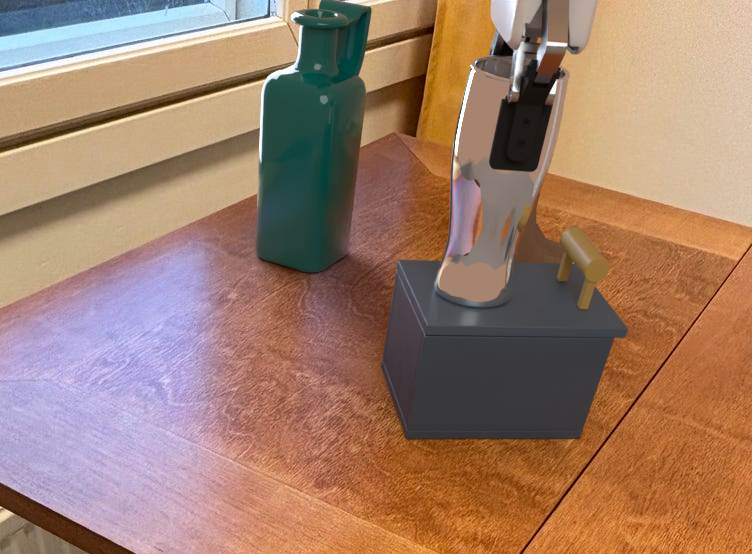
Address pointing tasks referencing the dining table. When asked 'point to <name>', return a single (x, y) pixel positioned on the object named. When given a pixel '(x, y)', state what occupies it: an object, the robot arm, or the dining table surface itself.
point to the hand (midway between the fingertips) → (503, 148)
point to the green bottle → (313, 140)
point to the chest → (488, 380)
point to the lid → (525, 298)
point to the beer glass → (489, 192)
